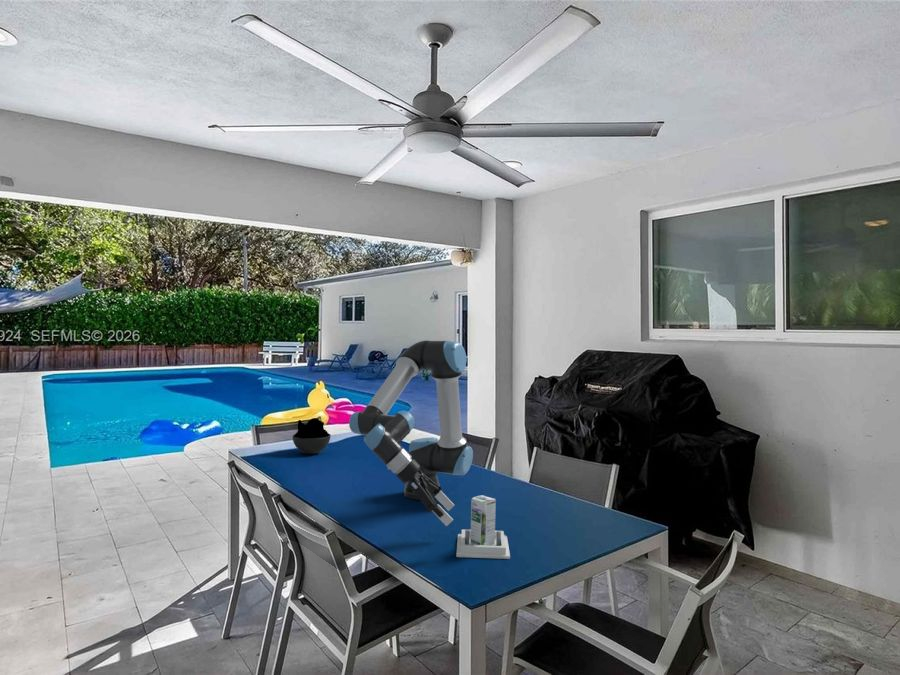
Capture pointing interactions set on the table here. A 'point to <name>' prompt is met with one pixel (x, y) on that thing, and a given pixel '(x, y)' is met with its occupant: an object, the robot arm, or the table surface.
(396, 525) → the table surface
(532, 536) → the table surface
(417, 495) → the robot arm
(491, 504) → the syrup box
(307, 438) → the coal bowl
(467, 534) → the tray
